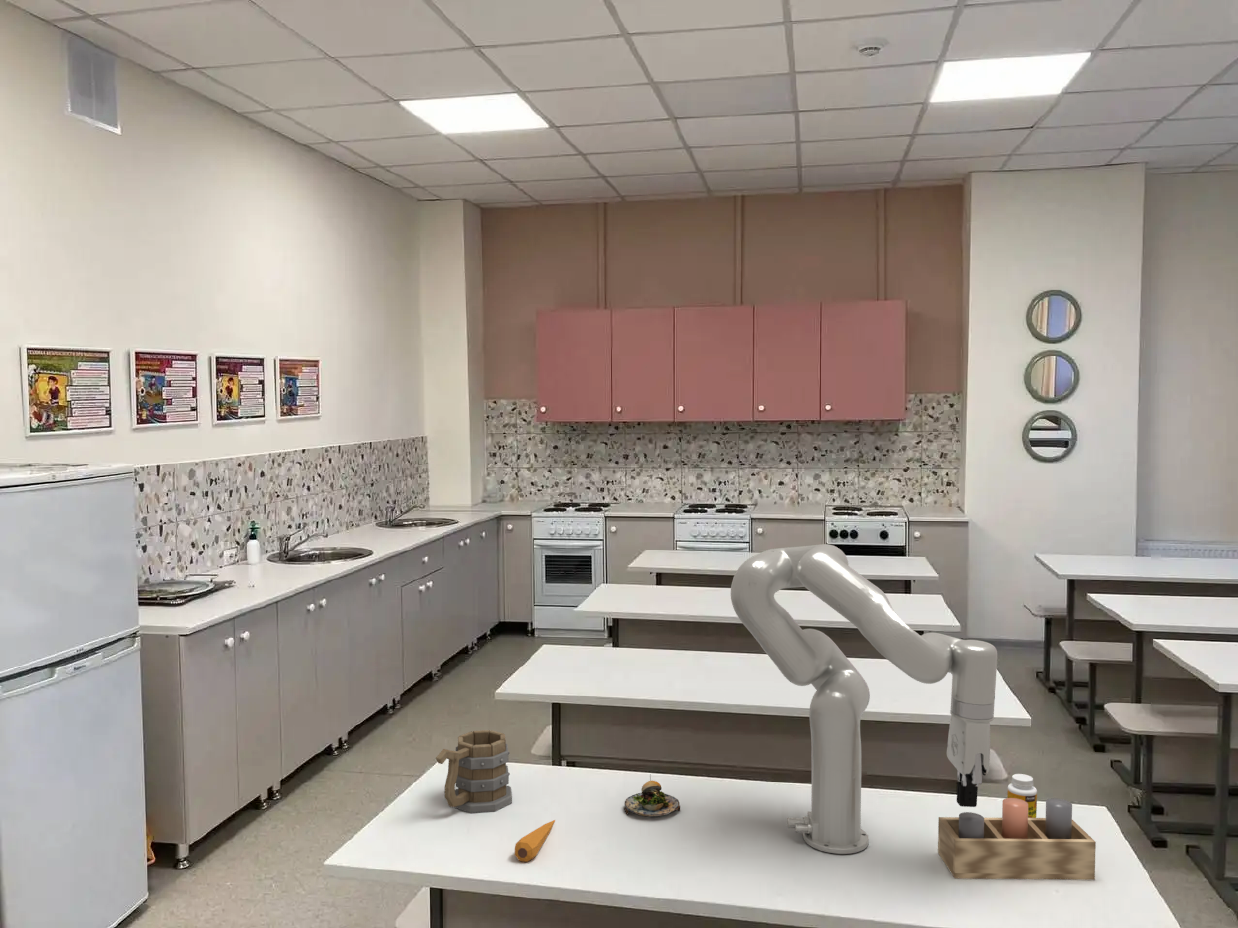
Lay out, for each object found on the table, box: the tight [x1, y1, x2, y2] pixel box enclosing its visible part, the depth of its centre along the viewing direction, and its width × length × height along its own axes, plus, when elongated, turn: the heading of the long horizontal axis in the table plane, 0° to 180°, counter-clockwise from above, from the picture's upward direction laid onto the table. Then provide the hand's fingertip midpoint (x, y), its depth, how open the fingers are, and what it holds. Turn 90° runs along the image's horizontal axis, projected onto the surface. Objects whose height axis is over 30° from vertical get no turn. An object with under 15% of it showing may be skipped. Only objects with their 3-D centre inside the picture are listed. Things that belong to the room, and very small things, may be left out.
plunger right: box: [1045, 797, 1073, 839], centre depth 177 cm, size 4×4×7 cm
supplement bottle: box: [1007, 773, 1038, 818], centre depth 195 cm, size 6×6×10 cm
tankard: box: [435, 729, 513, 814], centre depth 205 cm, size 20×13×15 cm, turn 144°
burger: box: [623, 775, 681, 817], centre depth 204 cm, size 12×12×8 cm
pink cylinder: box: [1001, 798, 1028, 839], centre depth 178 cm, size 4×4×7 cm
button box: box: [937, 816, 1097, 881], centre depth 178 cm, size 25×10×7 cm, turn 89°
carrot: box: [514, 819, 556, 863], centre depth 190 cm, size 20×4×4 cm, turn 166°
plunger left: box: [958, 811, 985, 839], centre depth 178 cm, size 4×4×7 cm
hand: (966, 804), depth 178 cm, fingers closed
